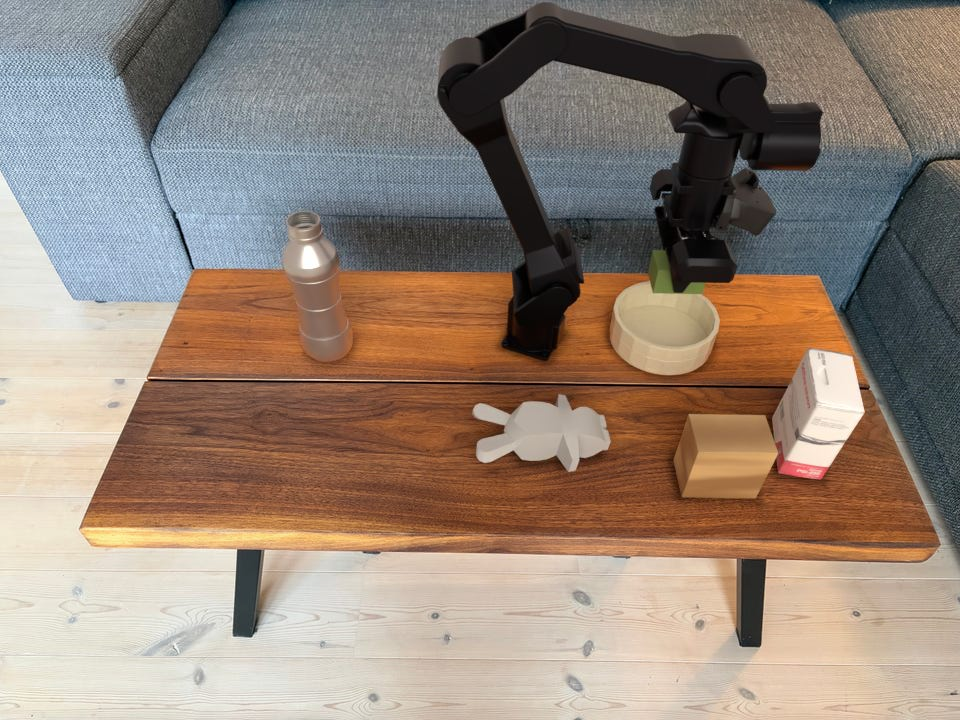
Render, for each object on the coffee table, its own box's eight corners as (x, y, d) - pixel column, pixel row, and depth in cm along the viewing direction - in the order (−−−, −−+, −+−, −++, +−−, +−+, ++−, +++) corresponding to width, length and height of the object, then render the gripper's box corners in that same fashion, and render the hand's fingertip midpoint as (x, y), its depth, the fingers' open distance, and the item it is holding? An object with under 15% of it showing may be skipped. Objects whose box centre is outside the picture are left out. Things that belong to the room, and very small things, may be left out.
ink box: (824, 482, 79) (867, 412, 70) (777, 474, 79) (813, 404, 71) (815, 423, 85) (853, 351, 76) (770, 416, 85) (803, 344, 77)
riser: (755, 498, 77) (778, 453, 71) (681, 497, 77) (698, 452, 71) (744, 460, 81) (765, 414, 75) (673, 459, 81) (688, 413, 75)
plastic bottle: (341, 374, 89) (317, 242, 75) (293, 361, 91) (260, 230, 77) (364, 340, 94) (344, 210, 79) (317, 328, 95) (290, 198, 81)
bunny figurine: (620, 453, 76) (480, 451, 74) (608, 481, 80) (474, 480, 78) (602, 387, 83) (473, 383, 81) (591, 416, 86) (468, 413, 84)
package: (702, 294, 86) (709, 271, 84) (652, 293, 86) (658, 270, 84) (695, 273, 89) (702, 250, 86) (647, 272, 89) (652, 249, 86)
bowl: (721, 376, 90) (730, 350, 87) (615, 374, 90) (621, 349, 87) (699, 306, 99) (707, 281, 96) (604, 305, 99) (608, 279, 96)
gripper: (808, 218, 70) (761, 335, 81) (758, 125, 83) (723, 237, 94) (693, 215, 70) (662, 333, 81) (661, 123, 83) (638, 235, 94)
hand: (674, 281), depth 87 cm, fingers closed on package, 4 cm apart
